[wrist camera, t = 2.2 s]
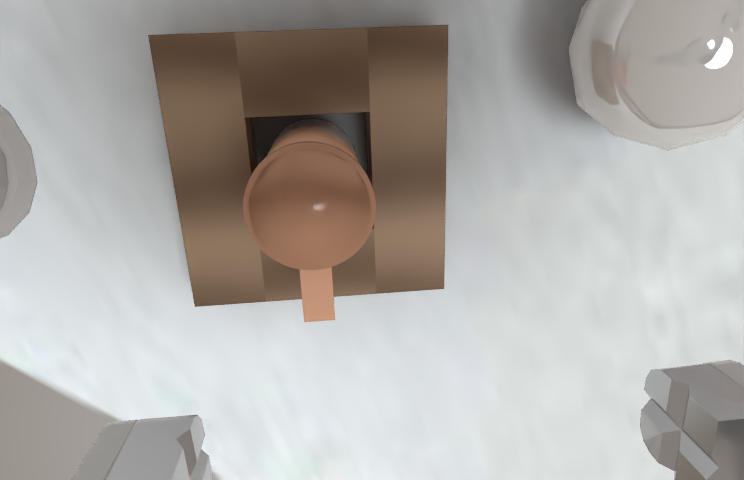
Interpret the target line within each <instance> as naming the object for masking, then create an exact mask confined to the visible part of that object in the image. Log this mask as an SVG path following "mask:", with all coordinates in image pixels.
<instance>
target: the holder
mask: <svg viewBox="0 0 744 480" xmlns="http://www.w3.org/2000/svg"><path fill="white" fill-rule="evenodd" d="M148 36H149V42H150V48H151V54H152V59H153V65H154V71H155V77H156V83H157V89H158V94H159V100H160V106H161V112H162V118H163V124H164V129H165V135H166V141H167V147H168V153H169V158H170V164H171V170H172V176H173V182H174V188H175V193H176V199H177V205H178V211H179V217H180V222H181V228H182V234H183V240H184V246H185V252H186V257H187V263H188V269H189V275H190V281H191V287H192V292H193V298H194V304H195V307H197V306H211V305H225V304H238V303H252V302H266V301H280V300H294V299H302V291H301V280H300V269H295V268H291V267H288V266H285V265H283V264H281V263H279V262H277V261H275V260H273V259H272V258H270V257H269V256H268V255H266V254H265V253H264V252H263V251H262V250H261V249H260V248H259V247H258V246H257V244H256V243H255V242H254V240H253V239H252V237H251V235H250V233H249V231H248V229H247V226H246V223H245V219H244V213H243V200H244V194H245V189H246V186H247V184H248V181H249V179H250V177H251V175H252V174H253V172H254V170H255V169H256V167H257V166H258V160H257V151H256V142H255V133H254V124H253V117H268V116H290V115H312V114H334V113H356V112H366V137H367V164H368V178H369V180H370V183H371V185H372V188H373V191H374V195H375V202H376V215H375V220H374V224H373V227H372V230H371V232H370V235H369V237H368V238H367V240H366V241H365V243H364V244H363V246H362V247H361V248H360V249H359V250H358V251H357V252H356V253H355V254H354V255H353V256H351V257H350V258H349V259H347V260H346V261H344V262H342V263H340V264H338V265H335V266H333V267H332V276H333V291H334V297H336V296H350V295H364V294H377V293H391V292H405V291H419V290H433V289H444V258H445V195H446V132H447V69H448V25H433V26H403V27H374V28H344V29H315V30H285V31H256V32H226V33H197V34H167V35H148Z"/></svg>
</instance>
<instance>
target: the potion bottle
mask: <svg viewBox="0 0 744 480" xmlns="http://www.w3.org/2000/svg"><path fill="white" fill-rule="evenodd" d="M569 57H570V65H571V71H572V77H573V83H574V89H575V95H576V101H577V105H578V106H579V107H580V108H582V109H583V110H584V111H585V112H586V113H588V114H589V115H590V116H591V117H592V118H594V119H595V120H596V121H597V122H598V123H600V124H601V125H602V126H603V127H604V128H606V129H607V130H608V131H609V132H610V133H612V134H613V135H615V136H618V137H621V138H625V139H628V140H632V141H635V142H639V143H643V144H646V145H650V146H653V147H657V148H660V149H664V150H667V151H669V150H672V149H676V148H680V147H684V146H688V145H692V144H695V143H699V142H703V141H707V140H711V139H714V138H718V137H722V136H726V135H727V134H728V133H729V132H731V131H732V130H733V129H735V128H736V127H737V126H739V125H740V124H741V123H742V122H744V0H587V2H586V3H585V4H584V5H583V6H582V9H581V12H580V15H579V18H578V21H577V24H576V27H575V30H574V34H573V37H572V40H571V43H570V46H569Z"/></svg>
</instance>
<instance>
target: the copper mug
mask: <svg viewBox="0 0 744 480" xmlns="http://www.w3.org/2000/svg"><path fill="white" fill-rule="evenodd" d="M243 213H244V219H245V223H246V226H247V229H248V231H249V233H250V235H251V237H252V239H253V240H254V242H255V243H256V244H257V246H258V247H259V248H260V249H261V250H262V251H263V252H264V253H265V254H266V255H268V256H269V257H270V258H272V259H273V260H275V261H277V262H279V263H281V264H283V265H285V266H288V267H291V268H295V269H300V280H301V291H302V302H303V313H304V322H311V321H325V320H335V311H334V291H333V276H332V267H333V266H335V265H338V264H340V263H342V262H344V261H346V260H347V259H349V258H350V257H351V256H353V255H354V254H355V253H356V252H357V251H358V250H359V249H360V248H361V247H362V246H363V244H364V243H365V241H366V240H367V238H368V237H369V235H370V232H371V230H372V227H373V224H374V220H375V215H376V202H375V195H374V191H373V188H372V185H371V183H370V180H369V178H368V176H367V174H366V172H365V171H364V169H363V168H362V167H361V165H360V164H359V161H358V158H357V155H356V152H355V149H354V146H353V144H352V142H351V141H350V139H349V138H348V136H347V135H346V134H345V133H344V132H343V131H342V130H341V129H340V128H338V127H337V126H335V125H333V124H331V123H329V122H327V121H323V120H318V119H306V120H301V121H298V122H295V123H293V124H291V125H289V126H288V127H286V128H285V129H284V130H282V131H281V133H280V134H279V135H278V136H277V137H276V139H275V141H274V142H273V144H272V146H271V148H270V150H269V152H268V154H267V156H266V157H265V158H264V159H263V160H262V161H261V162H260V163H259V165H258V166H257V167H256V169H255V170H254V172H253V174H252V175H251V177H250V179H249V181H248V184H247V186H246V189H245V194H244V200H243Z"/></svg>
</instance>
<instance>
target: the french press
mask: <svg viewBox="0 0 744 480" xmlns="http://www.w3.org/2000/svg"><path fill="white" fill-rule="evenodd" d="M36 185H37V178H36V172H35V167H34V161H33V156H32V150H31V147H30V145H29V143H28V142H27V140H26V138H25V137H24V135H23V134H22V132H21V130H20V129H19V127H18V125H17V124H16V122H15V121H14V119H13V117H12V116H11V114H10V113H9V112H8V111H7V110H6V109H4V108H3V107H2V106H1V105H0V238H2V237H5V236H7V235H9V234H10V233H11V231H12V230H13V229H14V228H15V227H16V226H17V225H18V224H19V223H20V222H21V221H22V220H23V219H24V218H25V216H26V215H27V214H28V213H29V211H30V207H31V204H32V200H33V196H34V192H35V189H36Z"/></svg>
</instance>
